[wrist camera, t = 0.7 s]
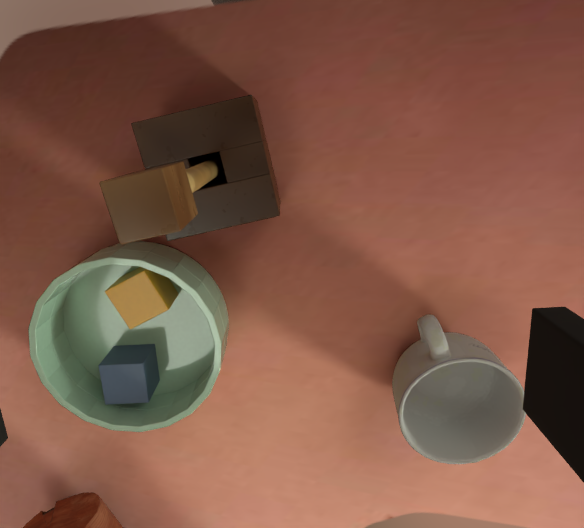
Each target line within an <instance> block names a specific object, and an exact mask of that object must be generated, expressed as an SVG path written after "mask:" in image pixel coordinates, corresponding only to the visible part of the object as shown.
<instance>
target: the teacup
mask: <svg viewBox="0 0 584 528" xmlns="http://www.w3.org/2000/svg"><path fill="white" fill-rule="evenodd" d="M417 325H418V329H419V332H420V337H421V339H420V340H418V341H417V342H415V343H413V344H412V345H411V346H410V347H409V348H407V350H406V351H405V352H404V353H403V354H402V355H401V357H400V358H399V360H398V362H397V364H396V367H395V370H394V373H393V380H392V388H393V396H394V401H395V405H396V409H397V413H398V418H399V424H400V428H401V432H402V434H403V436H404V438H405V439H406V441H407V442H408V443H409V445H410V446H411V447H412V448H413V449H415V450H416V451H417V452H418V453H420V454H421V455H423V456H424V457H426V458H429V459H431V460H434V461H437V462H441V463H447V464H466V463H475V462H479V461H481V460H484V459H486V458H489V457H491V456H494V455H495V454H497V453H498V452H500V451H501V450H503V449H504V448H506V447H507V446H508V445H509V444H510V443H511V442H512V441H513V440H514V438H515V437H516V436H517V434H518V433H519V431H520V429H521V427H522V425H523V423H524V420H525V416H526V413H525V412H524V410H523V400H524V390H523V387H522V386H521V384H520V382H519V381H518V379H517V378H516V377H515V376H514V375H513V374H512V373H511V372H510V371H509V370H508V369H507V368H506V367H505V365H504V364H503V363H502V362H501V361H500V359H499V358H498V357H497V356H496V355H495V354H494V353H493V352H492V351H491V350H490V349H489V348H488V347H487V346H485V345H484V344H483V343H481V342H480V341H478V340H476V339H475V338H472V337H470V336H467V335H464V334H460V333H453V332H446V333H444V332H443V330H442V328H441V325H440V323H439V322H438V320H437V318H436V317H435V316H434V315H431V314H429V315H425V316H423V317H420V318H419V319H418V320H417Z"/></svg>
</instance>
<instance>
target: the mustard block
mask: <svg viewBox="0 0 584 528" xmlns="http://www.w3.org/2000/svg"><path fill="white" fill-rule="evenodd" d="M105 293H106V295H107V296H108V298H109V299H110V301H111V302H112V304H113V305H114V306H115V308H116V309H117V311H118V312H119V314H120V315H121V317H122V318H123V320H124V321H125V323H126V324H127V326H128V327H129V329H132V328H134V327H136V326H138V325H140V324H142V323H144V322H146V321H148V320H150V319H152V318H154V317H156V316H158V315H160V314H161V313H163V312H165V311H167V310H169V309H170V307H171V306H172V304H173V302H174V301H175V299H176V298H177V296H178V295H179V293H178V292H177V290H176V289H175V287H174V286H173V284H172V282H171V281H170V279H169V278H168V277H165V276H163V275H160V274H158V273H155V272H152V271H150V270H147V269H145V268H142V267H139V268H137V269H135V270H133V271H131V272H129V273H127V274H125V275H123V276H122V277H120V278H119V279H118V280H117V281H116V282H114V283H113V284H112V285H111V286H110V287H109V288H108V289H107V290H105Z"/></svg>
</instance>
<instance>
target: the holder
mask: <svg viewBox="0 0 584 528" xmlns="http://www.w3.org/2000/svg"><path fill="white" fill-rule="evenodd" d="M131 124H132V128H133V131H134V134H135V137H136V141H137V144H138V147H139V150H140V154H141V157H142V160H143V163H144V167H145V168H146V169H151V168H155V167H159V166H163V165H168V164H172V163H176V162H181V161H183V162H184V165H185V169H188V168H190V167H193V166H195V165H198V164H200V163H203V162H205V159H204V155H205V154H209V153H213V152H218V151H219V153H220V156H221V160H222V164H223V168H224V172H225V176H226V177H224V178H220V179H216V180H211V181H209V182H208V183H207V184H205V185H204V186H202V187H201V188H199V189H198V190H196V191H195V192H193V193H192V194H193V197H194V201H195V204H196V208H197V211H198V214H197V215H196V216H195V217H194V218H193V219H192V220H191V221H190V222H189V223H188V224H187V225H186V226H185V227H184V228H183V229H182V230H181V231H179V232H174V233H170V234H166V238H167V240H168V241H170V240H174V239H179V238H183V237H188V236H192V235H197V234H201V233H205V232H210V231H214V230H219V229H223V228H228V227H232V226H236V225H241V224H245V223H250V222H254V221H259V220H263V219H268V218H272V217H276V216H280V202H281V201H280V197H279V193H278V188H277V184H276V180H275V176H274V171H273V167H272V163H271V158H270V154H269V150H268V145H267V141H266V137H265V132H264V128H263V124H262V119H261V115H260V111H259V107H258V102H257V100H256V99H255V98H254V97H253V96H252V95H248V96H244V97H240V98H235V99H231V100H227V101H223V102H219V103H214V104H210V105H206V106H202V107H198V108H193V109H189V110H185V111H181V112H177V113H173V114H168V115H164V116H160V117H156V118H152V119H147V120H143V121H139V122H135V123H131ZM146 169H145V170H146Z"/></svg>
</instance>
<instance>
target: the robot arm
mask: <svg viewBox="0 0 584 528" xmlns="http://www.w3.org/2000/svg"><path fill="white" fill-rule="evenodd" d="M523 410H524V412H525V413H526V414H527V415H528V416H529V418H530V419H531V420H532V421H533V422H534V424H535V425H536V426H537V427H538V428H539V430H540V431H541V432H542V433H543V434H544V436H545V437H546V438H547V439H548V440H549V441H550V443H551V444H552V445H553V446H554V447H555V449H556V450H557V451H558V452H559V453H560V455H561V456H562V457H563V458H564V459H565V461H566V462H567V463H568V464H569V465H570V467H571V468H572V469H573V470H574V471H575V473H576V474H577V475H578V476H579V477H580V479H581V480H582V481H583V482H584V319H583V318H581V317H580V316H578V315H577V314H575V313H574V312H572V311H571V310H569V309H567V308H566V307H551V308H533V309H532V319H531V329H530V339H529V349H528V359H527V370H526V380H525V390H524V400H523ZM7 438H8V436H7V432H6V428H5V425H4V421H3V417H2V413H1V410H0V446H1V445H2V444H3V443H4V442H5V441H6V440H7Z"/></svg>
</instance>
